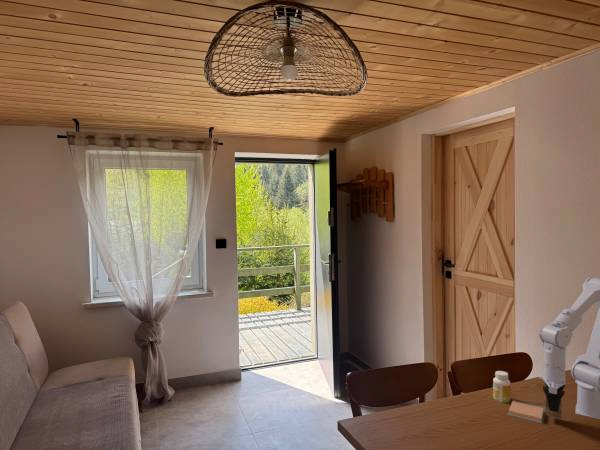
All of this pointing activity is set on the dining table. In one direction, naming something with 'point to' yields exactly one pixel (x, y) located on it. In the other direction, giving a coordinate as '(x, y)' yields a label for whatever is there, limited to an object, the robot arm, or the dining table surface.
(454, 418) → the dining table surface
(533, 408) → the tile
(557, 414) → the block
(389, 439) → the dining table surface
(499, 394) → the supplement bottle
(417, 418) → the dining table surface
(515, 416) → the mat
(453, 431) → the dining table surface
